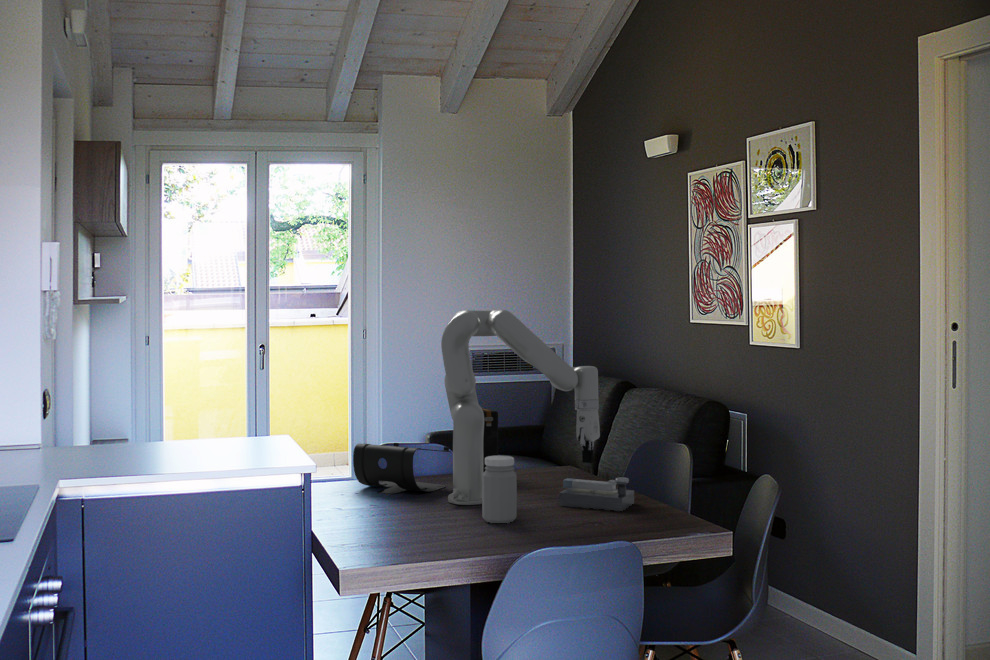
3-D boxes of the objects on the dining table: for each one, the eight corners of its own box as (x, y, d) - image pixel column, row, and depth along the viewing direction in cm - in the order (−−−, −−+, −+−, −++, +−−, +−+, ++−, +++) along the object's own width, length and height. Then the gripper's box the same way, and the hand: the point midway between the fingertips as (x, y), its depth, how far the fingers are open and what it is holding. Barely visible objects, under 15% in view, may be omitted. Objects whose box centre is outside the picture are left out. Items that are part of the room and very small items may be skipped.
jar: (522, 519, 257) (522, 456, 257) (505, 526, 249) (505, 461, 249) (493, 515, 262) (493, 454, 262) (475, 522, 254) (475, 458, 253)
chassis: (621, 511, 268) (622, 488, 268) (559, 505, 276) (559, 482, 276) (634, 503, 279) (634, 481, 279) (573, 497, 288) (573, 476, 288)
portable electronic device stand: (350, 490, 299) (350, 444, 299) (390, 479, 320) (390, 436, 320) (415, 498, 287) (415, 449, 287) (452, 486, 308) (452, 441, 308)
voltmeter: (461, 474, 330) (461, 406, 330) (482, 473, 334) (482, 406, 333) (478, 482, 316) (478, 411, 315) (500, 480, 319) (500, 409, 319)
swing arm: (626, 493, 272) (626, 480, 272) (562, 487, 280) (562, 474, 280) (630, 490, 275) (630, 477, 275) (567, 485, 284) (567, 472, 284)
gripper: (590, 407, 278) (591, 466, 278) (605, 402, 291) (606, 459, 292) (567, 407, 281) (568, 465, 281) (583, 402, 295) (584, 458, 295)
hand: (588, 462), depth 287 cm, fingers closed
